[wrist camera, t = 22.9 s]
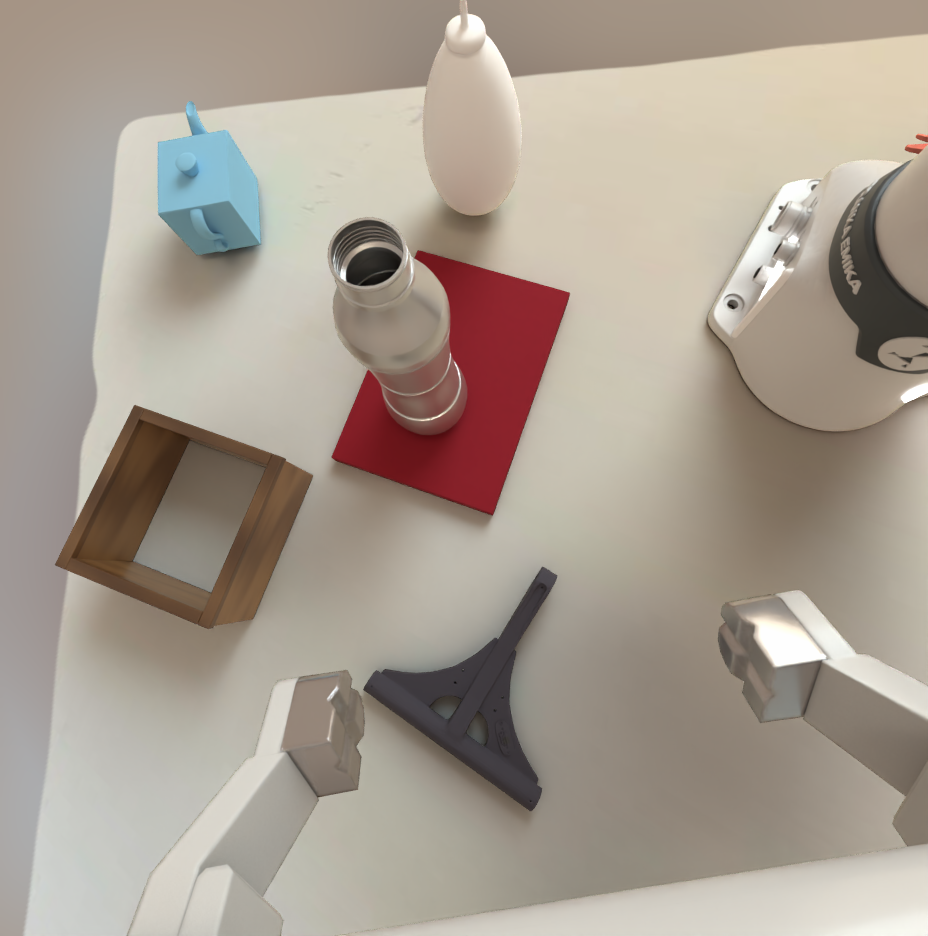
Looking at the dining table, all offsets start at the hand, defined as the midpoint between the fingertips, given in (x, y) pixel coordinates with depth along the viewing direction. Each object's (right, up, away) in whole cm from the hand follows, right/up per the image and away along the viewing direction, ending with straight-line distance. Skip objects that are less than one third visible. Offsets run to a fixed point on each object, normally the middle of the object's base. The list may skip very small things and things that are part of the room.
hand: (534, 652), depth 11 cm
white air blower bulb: (0, +29, +36) cm, 46 cm away
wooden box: (-22, 0, +32) cm, 39 cm away
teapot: (-24, +28, +38) cm, 53 cm away
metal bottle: (-4, +9, +31) cm, 33 cm away
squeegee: (+1, -10, +28) cm, 30 cm away
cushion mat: (-2, +12, +33) cm, 35 cm away
